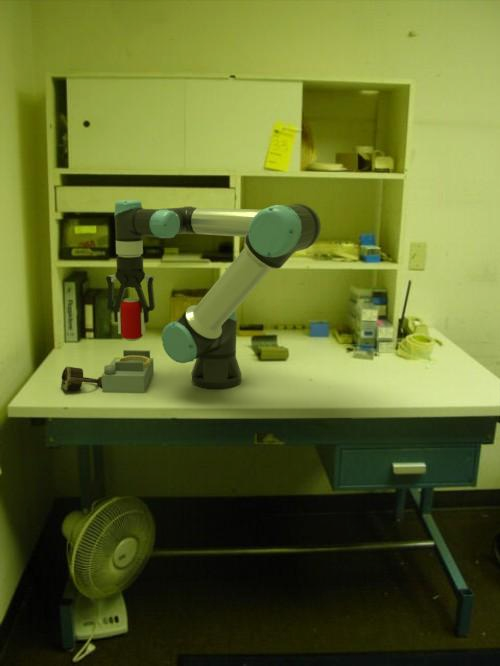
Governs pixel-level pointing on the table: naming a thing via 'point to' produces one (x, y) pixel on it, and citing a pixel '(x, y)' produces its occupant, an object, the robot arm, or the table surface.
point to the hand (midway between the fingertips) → (132, 332)
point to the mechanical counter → (76, 378)
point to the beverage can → (131, 319)
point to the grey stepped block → (128, 372)
